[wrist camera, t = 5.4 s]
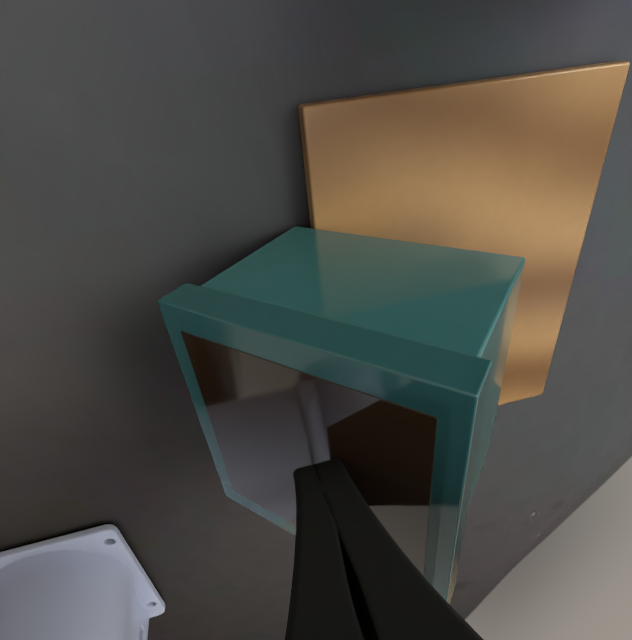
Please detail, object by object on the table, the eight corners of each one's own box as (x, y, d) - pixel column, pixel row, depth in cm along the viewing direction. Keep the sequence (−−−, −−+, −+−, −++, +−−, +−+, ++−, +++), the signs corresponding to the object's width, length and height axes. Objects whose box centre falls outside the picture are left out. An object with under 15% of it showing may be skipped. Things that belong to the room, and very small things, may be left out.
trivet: (533, 385, 24) (543, 394, 24) (333, 436, 23) (337, 447, 22) (613, 60, 16) (632, 61, 15) (296, 103, 14) (301, 106, 13)
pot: (316, 389, 20) (497, 454, 16) (225, 496, 16) (443, 622, 12) (293, 217, 16) (540, 247, 12) (154, 300, 11) (477, 397, 7)
